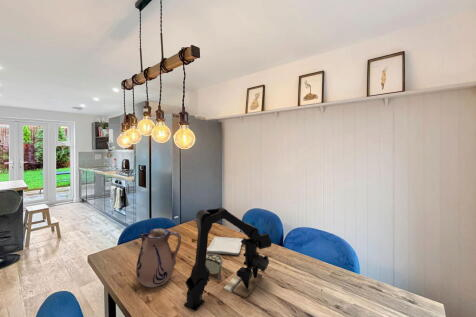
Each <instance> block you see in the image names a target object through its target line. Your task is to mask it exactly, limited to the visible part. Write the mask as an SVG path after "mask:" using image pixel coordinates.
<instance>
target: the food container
mask: <svg viewBox="0 0 476 317" xmlns="http://www.w3.org/2000/svg"><path fill="white" fill-rule="evenodd" d="M223 263H224V262H223V257H222V256H221V254H219V253H207V254H206V266H207V268H208V269H209V271H210V274H209V279H214V280H215V281H219V280H220V279H221V274H222V272H221V271H222V266H223Z"/></svg>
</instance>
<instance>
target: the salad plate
mask: <svg viewBox="0 0 476 317" xmlns="http://www.w3.org/2000/svg"><path fill="white" fill-rule="evenodd" d="M243 239H244V238H237V237H226V236H214V237H213V239H212V241H211V242H210V243H209V246H207V253H209V254H218V255H221V254H223V255H233V256H236V255H239V254H240V251H241V248H242V245H243V244H242V243H241V241H242V240H243Z"/></svg>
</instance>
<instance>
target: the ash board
mask: <svg viewBox="0 0 476 317" xmlns="http://www.w3.org/2000/svg"><path fill="white" fill-rule="evenodd" d="M241 281H242V279H241V278H240V277H237V273H236V274H235V276H234V277H232V278H231V280H229V281H228V282H227V284H226V285H225V286H224V287H223V290H224V291H225V292H228V293H233V290H234V289H235V288H236V287H237V286H238V285H239V284H240V283H241Z"/></svg>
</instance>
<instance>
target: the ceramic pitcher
mask: <svg viewBox="0 0 476 317" xmlns="http://www.w3.org/2000/svg"><path fill="white" fill-rule="evenodd" d="M171 236H176V237H177V240H178V241H177V245H176V247H175V250H174V251H172V249H171V246H170V244H169V238H170V237H171ZM140 237H141V244H140V249H139V254H138V258H137V261H136V267H135V268H136V271H135V273H136V274H135V275H136V277H137V280H138V281H139V283H140V284H142V285H143V286H144V287H148V288H156V287H158V286H162V285H164V284H165V283H166V282H167V281H168V280H169V279H170V278H171V276H172V275H173V273H174V269H175V266H176V263H177V261H176V260H177V259H176V257H177V255H178V253H179V251H180V247H181V245H182V235H181V234H180V233H179V232H178V231H170V230H169V229H167V228H163V227H162V228H153V229H150V230H149V232H143V233H141V234H140Z"/></svg>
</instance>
